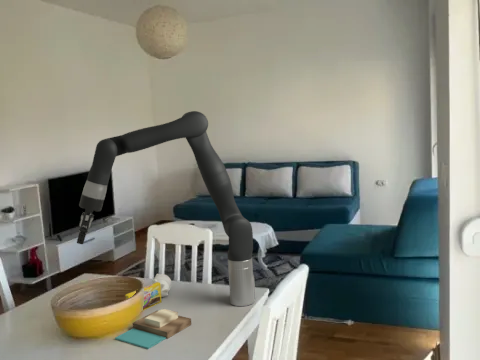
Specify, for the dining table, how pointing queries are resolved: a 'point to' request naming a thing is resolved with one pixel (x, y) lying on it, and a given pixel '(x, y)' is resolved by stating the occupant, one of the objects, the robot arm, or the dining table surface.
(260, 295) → the dining table surface
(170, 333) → the wooden board
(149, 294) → the candy box
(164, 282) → the cat figurine
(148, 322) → the tile
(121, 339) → the mat
